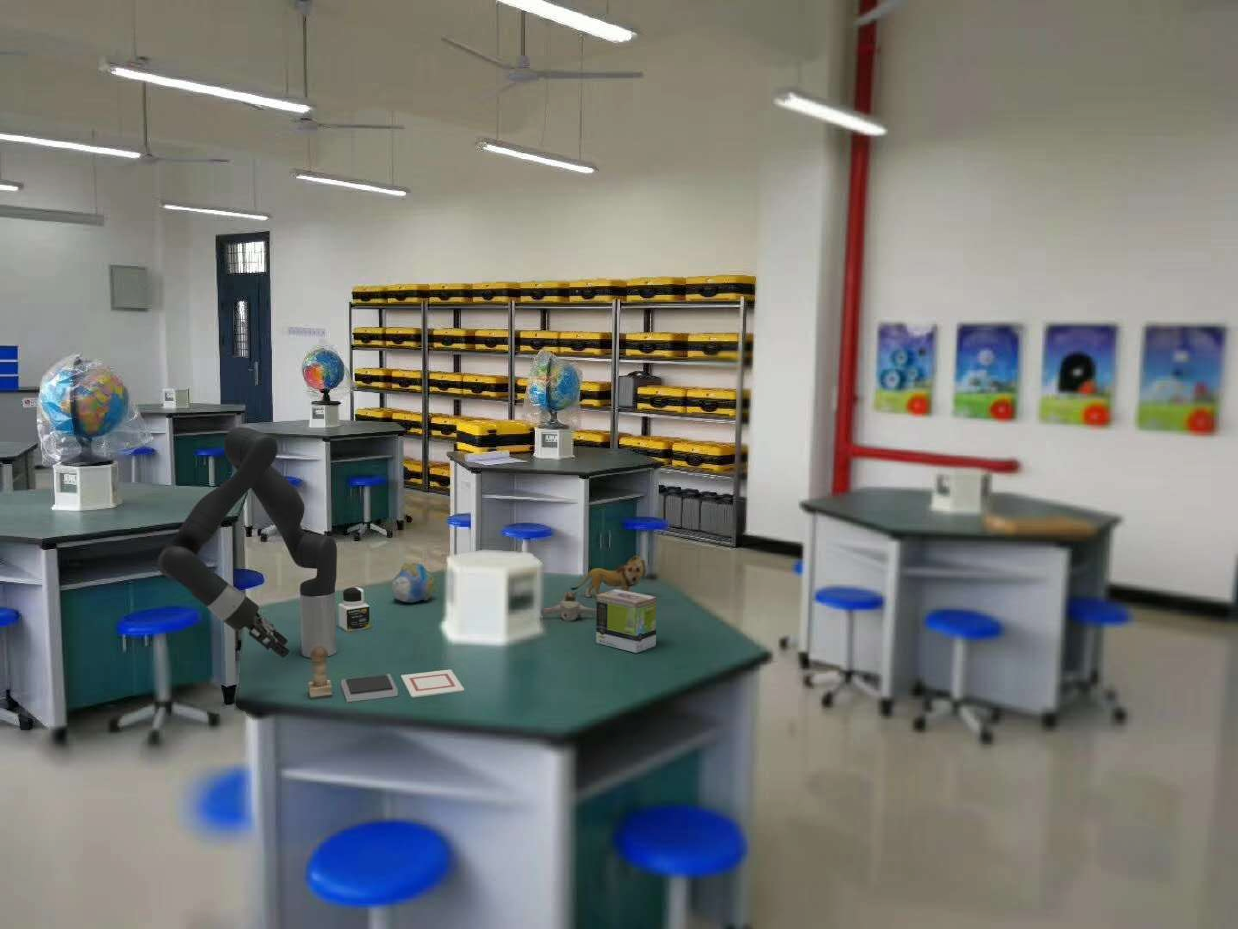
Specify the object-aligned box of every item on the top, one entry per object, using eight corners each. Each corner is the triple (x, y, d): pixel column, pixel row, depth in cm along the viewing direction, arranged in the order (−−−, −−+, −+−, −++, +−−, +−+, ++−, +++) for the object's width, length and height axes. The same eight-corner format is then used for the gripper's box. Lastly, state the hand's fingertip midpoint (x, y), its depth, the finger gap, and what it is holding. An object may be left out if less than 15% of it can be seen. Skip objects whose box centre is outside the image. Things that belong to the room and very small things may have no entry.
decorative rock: (396, 561, 313) (439, 559, 320) (384, 566, 326) (425, 564, 333) (398, 603, 311) (441, 599, 318) (386, 606, 324) (428, 602, 331)
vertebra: (602, 606, 312) (602, 581, 307) (602, 628, 303) (603, 603, 297) (538, 606, 311) (537, 582, 306) (537, 628, 302) (536, 604, 297)
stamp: (308, 692, 237) (307, 645, 235) (330, 690, 239) (328, 643, 237) (310, 699, 232) (309, 651, 231) (332, 696, 234) (330, 649, 233)
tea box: (657, 646, 277) (657, 596, 275) (635, 654, 269) (636, 603, 267) (616, 635, 286) (617, 587, 284) (594, 643, 278) (595, 593, 276)
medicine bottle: (347, 632, 287) (346, 592, 285) (338, 626, 292) (337, 587, 291) (370, 628, 291) (369, 589, 289) (361, 622, 296) (360, 584, 295)
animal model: (642, 604, 321) (643, 560, 320) (567, 598, 327) (568, 555, 325) (647, 597, 330) (648, 554, 329) (575, 592, 336) (575, 549, 334)
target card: (401, 676, 249) (400, 675, 249) (450, 671, 253) (450, 669, 253) (411, 697, 234) (411, 695, 234) (464, 691, 239) (464, 689, 239)
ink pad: (341, 685, 242) (341, 678, 241) (390, 680, 246) (389, 672, 246) (347, 702, 231) (346, 694, 230) (397, 696, 235) (397, 688, 235)
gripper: (244, 602, 220) (299, 645, 225) (244, 587, 233) (295, 629, 238) (220, 627, 218) (275, 670, 224) (221, 611, 231) (273, 652, 237)
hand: (285, 649), depth 231 cm, fingers open, 8 cm apart
